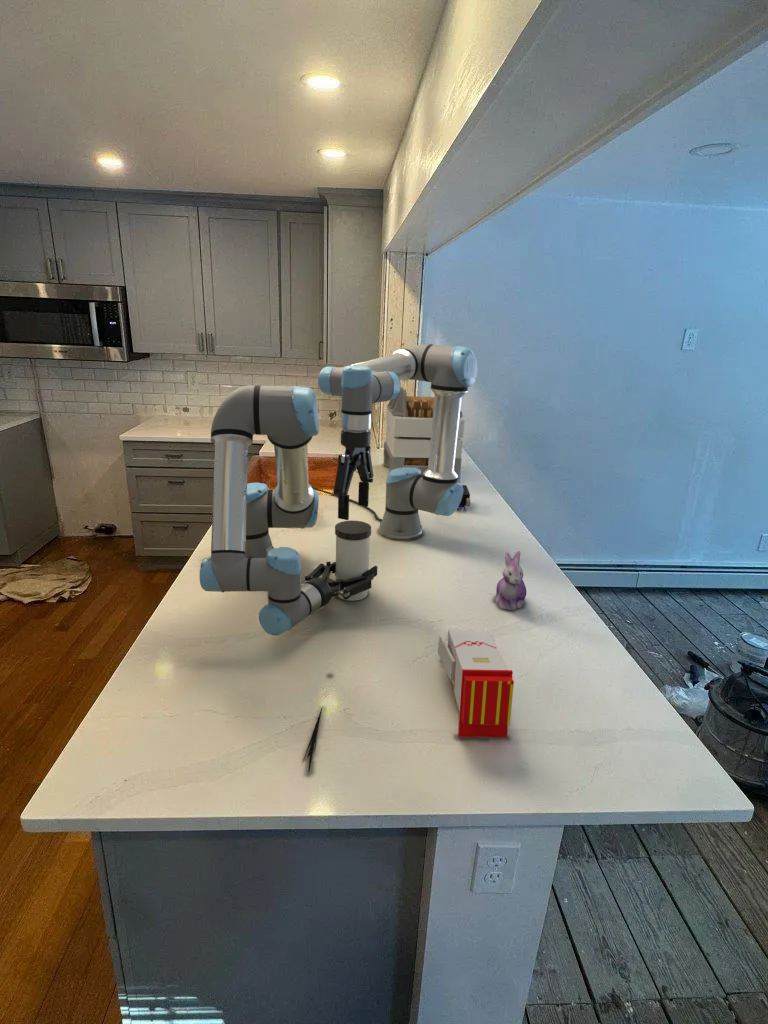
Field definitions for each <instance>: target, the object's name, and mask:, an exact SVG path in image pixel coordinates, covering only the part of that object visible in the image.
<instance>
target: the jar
mask: <svg viewBox="0 0 768 1024" xmlns="http://www.w3.org/2000/svg"><path fill="white" fill-rule="evenodd" d="M370 537H371V536H370ZM370 537H368V538H366V539H362V540H346V539H342V538H339V537H337V536H336V535H335V562H336V573H335V580H339V579H343V580H347V579H351V578H356V577H361V576H362V574H363V573H365V572H366V571H368V570H369V569H370V568H369V567H370V566H369V563H370V542H371V541H370V540H371V539H370ZM339 589H340V583H339ZM368 591H369V589H368V590H365V591H363V592H360V593H358V594H356V595H353V596H351V597H350V598H348V599H347V600H346V601H359V600H363V599H365V598H366V597H367V596H368ZM337 598H338V599H340V600H341V599H342V600H344V599H343V596H340V595H338V596H337Z"/></svg>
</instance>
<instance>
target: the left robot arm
mask: <svg viewBox="0 0 768 1024" xmlns="http://www.w3.org/2000/svg"><path fill="white" fill-rule="evenodd" d="M317 400H318V399H317V396H316V392H315V391H314V389H313V388H311V387H306V386H300V385H256V384H248V385H243V386H239V387H238V388H236V389H235V390H234V391H232V392H230V393H229V394H228V395H227V397H225V398H224V399H223V401H222V402H221V403H220V405H219V407H218V409H217V410H216V412H215V415H214V417H213V420H212V423H211V428H210V442H211V443H212V444H213V445H214V461H213V490H212V491H213V492H212V515H211V540H210V541H211V542H210V543H211V544H210V557H206V558H203V559H202V560H201V562H200V566H199V567H200V569H199V585H200V587H201V589H202V590H204V591H205V592H216V593H217V592H218V593H229V592H232V593H233V592H267V603H266V604H264V606H263V607H261V608H260V610H259V612H258V622H259V625H260V627H261V628H262V630H263V631H264V632H265V633H266V634H268V635H270V636H272V637H273V636H274V637H275V636H277V637H278V636H281V635H283V634H284V633H286V632H288V631H290V630H291V629H292V628H294V627H296V625H298V624H299V623H301V622H302V621H304V620H305V619H307V618H308V617H310V616H311V615H313V614H314V613H316V612H317V611H319V610H321V609H322V608H324V607H326V606H327V605H328V604H329V603H330V602H331V601H332V599H333V598H336V597H338V595H340V596H343V599H342V600H345V601H348V600H347V599H348V598H350V597H351V596H353V595H356V594H358V593H360V592H363V591H365V590H368V591H369V590H370V589H372V581H373V580H374V579H375V577H377V576H378V565H374V566H372V567H371V568H368V571H366V572H365V573H363V574H362V576H361V577H356V578H351V579H347V580H343V579H339V580H336V579H332V578H330V577H331V574H333V575H334V574H336V561H334V562H333V561H332V563H331V561H326V563H322V562H321V563H319V564H318V565H317V566H316V567H315V568H314V569H313V570H312V571H311V572H310V573H309V574H307V575H305V576H304V583H302V566H301V565H302V564H301V556H300V553H299V552H298V550H296V549H295V548H292V547H288V546H279V547H274V546H273V542H272V538H271V537H270V536H271V535H270V534H269V533H270V530H269V529H301V530H303V529H309V528H314V527H315V525H316V524H317V520H318V514H319V503H320V502H319V501H320V500H319V498H320V496H319V491H318V490H315V489H312V487H313V486H312V485H311V484H310V483H309V456H308V455H309V453H308V444H309V443H311V441H312V439H313V437H315V436H318V435H319V431H320V419H319V411H318V410H319V409H318V401H317ZM254 435H256V436H266V437H267V439H268V441H269V443H270V444H271V445H273V450H274V458H275V459H274V460H275V469H276V470H275V471H276V479H277V485H276V486H275V488H273V489H269V487H268V485H267V484H266V483H264V482H262V483H261V482H249V483H248V471H249V469H248V467H249V447H251V446H252V445H253V443H254ZM339 583H340V589H339Z"/></svg>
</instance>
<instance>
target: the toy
mask: <svg viewBox="0 0 768 1024" xmlns="http://www.w3.org/2000/svg"><path fill="white" fill-rule="evenodd" d="M446 640H447V643H446V641H445V639H444V636H443V635H442V634H439V637H438V646H437V656H438V657H439V659H440V661H441V663H442V666H443V668H444V670H445V672H446V674H447V677H448V679H449V681H450V684H451V687H452V690H453V693H454V697H455V701H456V705H457V708H458V711H459V714H458V715H459V716H458V730H457V731H458V732H457V737H458V738H508V731H509V726H510V725H511V717H512V707H513V697H514V696H513V695H514V684H515V680H514V679H513V673H514V671H513V670H512V669H508V667H507V665H506V662H505V661H504V659H503V658H502V655H501V653H500V651H499V649H498V647H497V643H496V639H495V637H494V635H493V634H491V632H490V631H489V629H467V628H466V629H465V628H463V629H461V628H460V629H459V628H448V630H447V639H446Z"/></svg>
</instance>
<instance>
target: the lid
mask: <svg viewBox="0 0 768 1024" xmlns="http://www.w3.org/2000/svg"><path fill="white" fill-rule="evenodd" d="M334 534H335V537H336V536H337V537H339V538H342V539H346V540H362V539H366V538H368V537H371V535H372V525H371V524H370V523H368V522H365V521H361V520H343V521H340V522H338V523H336V524H335V526H334Z"/></svg>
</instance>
